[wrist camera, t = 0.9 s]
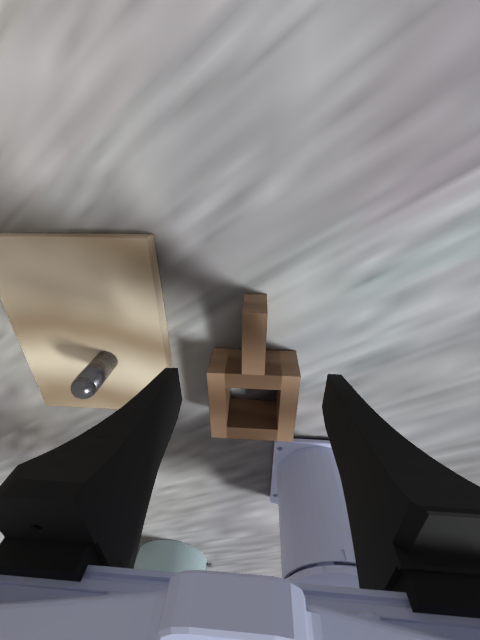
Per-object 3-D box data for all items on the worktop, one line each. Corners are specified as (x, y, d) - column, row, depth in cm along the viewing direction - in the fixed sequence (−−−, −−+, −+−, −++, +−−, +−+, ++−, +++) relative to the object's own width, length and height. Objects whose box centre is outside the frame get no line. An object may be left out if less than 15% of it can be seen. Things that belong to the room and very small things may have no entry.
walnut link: (289, 412, 24) (292, 441, 21) (217, 408, 24) (211, 437, 21) (301, 295, 19) (308, 314, 16) (210, 292, 19) (201, 312, 16)
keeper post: (119, 369, 21) (92, 405, 18) (99, 368, 21) (69, 404, 18) (115, 351, 21) (86, 385, 17) (94, 350, 21) (61, 384, 17)
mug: (137, 567, 39) (101, 681, 30) (140, 533, 35) (98, 655, 26) (232, 584, 40) (224, 702, 31) (246, 554, 35) (241, 680, 26)
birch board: (177, 401, 24) (173, 411, 23) (55, 395, 25) (46, 405, 24) (153, 234, 18) (146, 237, 16) (-11, 232, 18) (-27, 236, 17)
